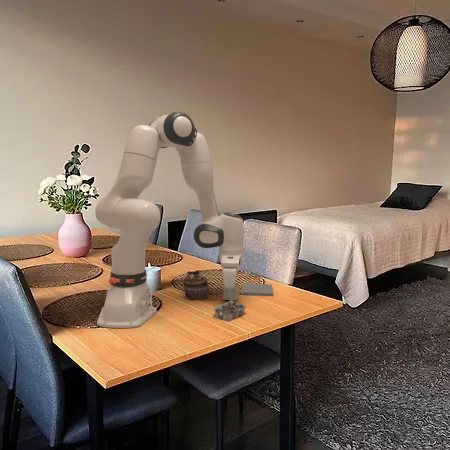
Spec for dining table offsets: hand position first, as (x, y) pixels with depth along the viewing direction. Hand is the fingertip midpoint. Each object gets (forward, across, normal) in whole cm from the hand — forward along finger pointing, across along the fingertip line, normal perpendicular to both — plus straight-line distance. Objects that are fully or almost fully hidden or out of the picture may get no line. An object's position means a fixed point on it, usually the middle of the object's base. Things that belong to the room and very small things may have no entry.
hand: (230, 293), depth 170 cm
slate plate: (+2, -12, +10) cm, 15 cm away
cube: (+2, 0, 0) cm, 2 cm away
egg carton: (+3, +16, +1) cm, 16 cm away
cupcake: (+3, -1, -13) cm, 13 cm away
